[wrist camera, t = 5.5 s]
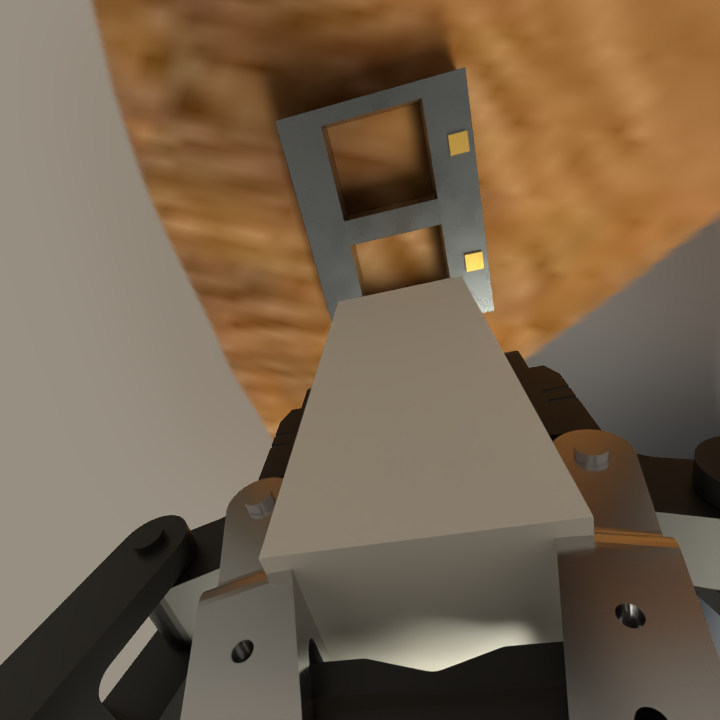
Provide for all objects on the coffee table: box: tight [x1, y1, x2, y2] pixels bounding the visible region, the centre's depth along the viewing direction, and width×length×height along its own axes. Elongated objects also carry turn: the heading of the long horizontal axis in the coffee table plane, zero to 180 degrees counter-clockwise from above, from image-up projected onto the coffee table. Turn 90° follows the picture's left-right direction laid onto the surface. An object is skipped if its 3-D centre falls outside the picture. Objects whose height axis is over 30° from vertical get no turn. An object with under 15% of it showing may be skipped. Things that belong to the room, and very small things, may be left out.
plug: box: [259, 276, 594, 671], centre depth 11 cm, size 5×4×10 cm
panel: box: [275, 67, 494, 321], centre depth 27 cm, size 13×10×3 cm
